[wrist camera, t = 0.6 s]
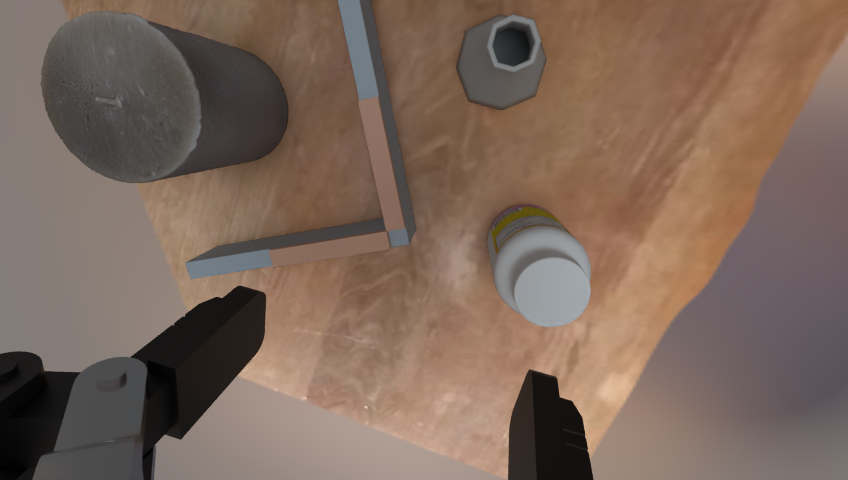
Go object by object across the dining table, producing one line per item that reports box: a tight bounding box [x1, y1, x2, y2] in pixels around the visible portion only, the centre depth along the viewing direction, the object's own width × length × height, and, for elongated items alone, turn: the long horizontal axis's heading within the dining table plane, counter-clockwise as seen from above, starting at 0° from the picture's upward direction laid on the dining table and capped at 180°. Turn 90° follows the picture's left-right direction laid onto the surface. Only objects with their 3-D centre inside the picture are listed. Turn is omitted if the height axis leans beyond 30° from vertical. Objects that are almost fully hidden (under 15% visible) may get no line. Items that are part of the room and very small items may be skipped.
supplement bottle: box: [487, 205, 591, 327], centre depth 33 cm, size 7×7×13 cm
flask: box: [456, 14, 546, 110], centre depth 30 cm, size 7×7×10 cm
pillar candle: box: [41, 11, 288, 183], centre depth 31 cm, size 10×10×15 cm
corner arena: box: [185, 0, 416, 279], centre depth 36 cm, size 20×20×6 cm
